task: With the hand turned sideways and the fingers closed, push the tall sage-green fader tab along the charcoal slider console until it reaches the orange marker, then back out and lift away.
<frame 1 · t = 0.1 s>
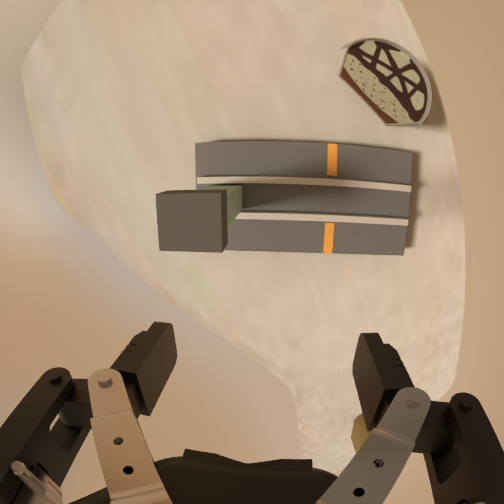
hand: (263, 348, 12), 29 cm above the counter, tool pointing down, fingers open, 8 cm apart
squeeze bottle: (366, 419, 50), on the counter
slider console: (305, 195, 38), on the counter
fader tab: (212, 206, 29), point 11 cm above the counter, slide at 0.0 cm
food container: (376, 88, 33), on the counter
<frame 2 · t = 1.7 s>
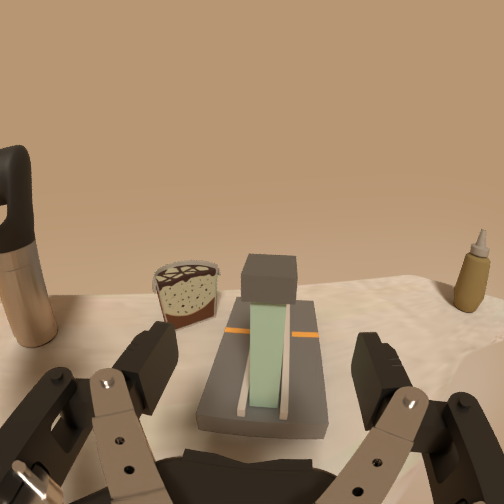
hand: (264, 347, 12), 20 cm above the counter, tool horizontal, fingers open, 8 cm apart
squeeze bottle: (464, 307, 52), on the counter
slider console: (269, 361, 41), on the counter
fader tab: (267, 340, 28), point 11 cm above the counter, slide at 0.0 cm
food container: (185, 318, 52), on the counter
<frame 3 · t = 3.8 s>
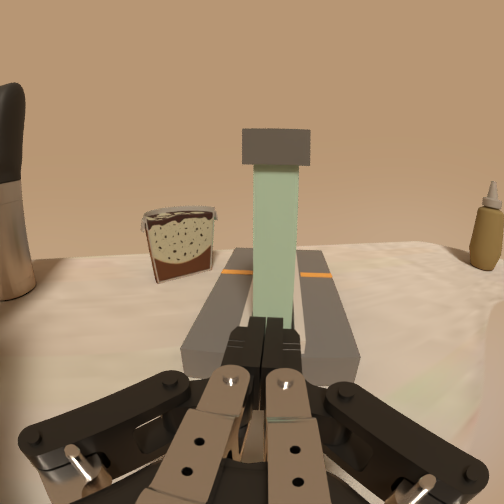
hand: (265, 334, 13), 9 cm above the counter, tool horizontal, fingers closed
squeeze bottle: (481, 267, 47), on the counter
slider console: (275, 305, 35), on the counter
fader tab: (275, 237, 22), point 11 cm above the counter, slide at 0.0 cm
food container: (177, 272, 46), on the counter
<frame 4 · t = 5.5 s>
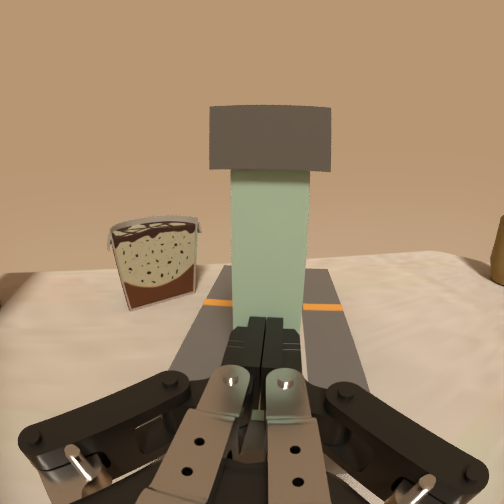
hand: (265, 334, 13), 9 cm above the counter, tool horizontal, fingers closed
squeeze bottle: (502, 282, 39), on the counter
slider console: (270, 347, 27), on the counter
fader tab: (269, 283, 14), point 11 cm above the counter, slide at 0.1 cm, touching gripper
food container: (155, 294, 38), on the counter
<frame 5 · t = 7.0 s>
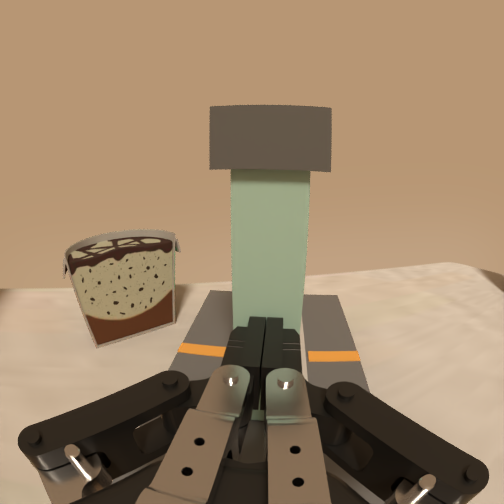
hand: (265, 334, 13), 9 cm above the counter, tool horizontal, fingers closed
slider console: (265, 409, 19), on the counter
fader tab: (269, 283, 14), point 11 cm above the counter, slide at 8.3 cm, touching gripper
food container: (128, 324, 30), on the counter
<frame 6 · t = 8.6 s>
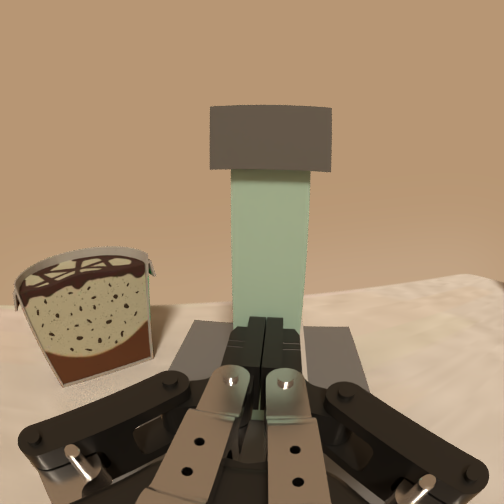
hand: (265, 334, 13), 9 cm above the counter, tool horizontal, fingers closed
slider console: (257, 482, 13), on the counter
fader tab: (269, 283, 14), point 11 cm above the counter, slide at 14.8 cm, touching gripper
food container: (100, 357, 24), on the counter
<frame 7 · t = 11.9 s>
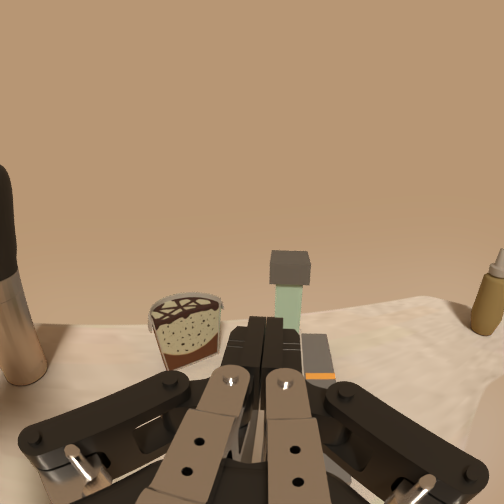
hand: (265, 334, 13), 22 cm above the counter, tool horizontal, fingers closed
squeeze bottle: (481, 330, 46), on the counter
slider console: (281, 406, 34), on the counter
fader tab: (287, 317, 36), point 11 cm above the counter, slide at 15.0 cm
food container: (185, 355, 46), on the counter
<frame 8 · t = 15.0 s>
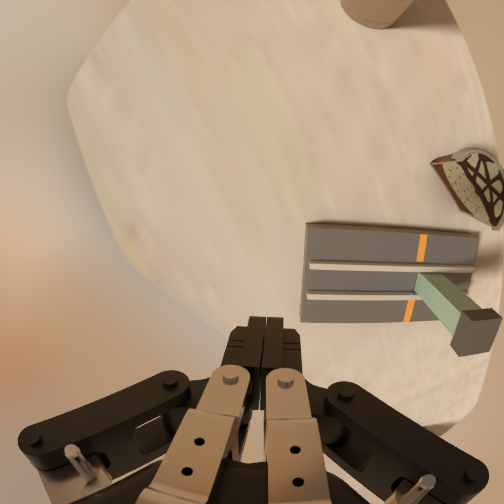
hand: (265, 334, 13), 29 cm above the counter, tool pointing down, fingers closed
slider console: (391, 272, 41), on the counter
fader tab: (451, 305, 30), point 11 cm above the counter, slide at 15.0 cm
food container: (456, 175, 36), on the counter
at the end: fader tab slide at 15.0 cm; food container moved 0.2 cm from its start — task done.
